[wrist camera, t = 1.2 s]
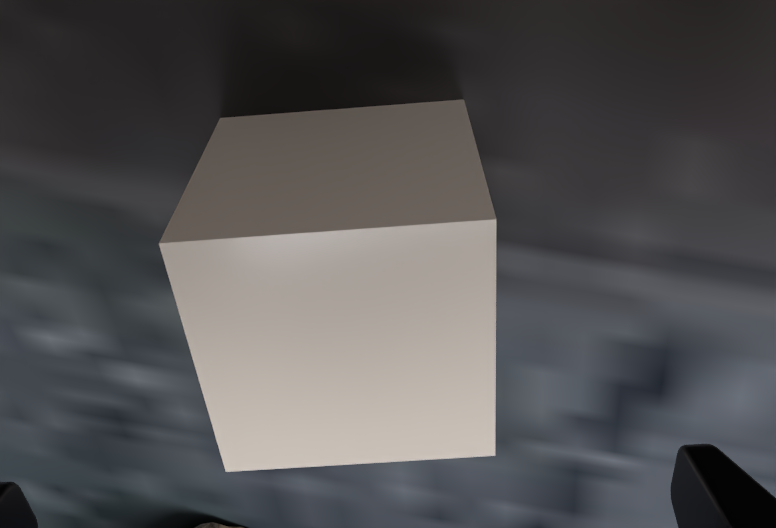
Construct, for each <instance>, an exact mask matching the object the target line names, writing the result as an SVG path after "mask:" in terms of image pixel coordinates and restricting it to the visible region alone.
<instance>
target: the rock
mask: <svg viewBox="0 0 776 528" xmlns="http://www.w3.org/2000/svg"><path fill="white" fill-rule="evenodd" d="M195 528H244V527H240V526H239V527H228V526H224V525H221V524H218V523H214V522H210V523H204V524H200V525H199V526H197V527H195Z"/></svg>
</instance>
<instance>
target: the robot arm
mask: <svg viewBox="0 0 776 528" xmlns="http://www.w3.org/2000/svg"><path fill="white" fill-rule="evenodd" d="M671 500H672V505H673V509H674V513H675V516H676V520H677V524H678V528H776V498H775V497H774V496H773V495H772V494H770V493H769V492H768V491H767V490H766V489H765V488H763V487H762V486H761V485H760V484H759V483H758V482H756V481H755V480H754V479H753V478H752V477H751V476H749V475H748V474H747V473H746V472H745V471H744V470H743V469H741V468H740V467H739V466H738V465H737V464H736V463H734V462H733V461H732V460H731V459H730V458H729V457H727V456H726V455H725V454H724V453H723V452H722V451H720V450H719V449H718V448H717V447H715V446H713V445H711V444H694V445H684V446H682V447H680V449H679V450H678V453H677V458H676V463H675V468H674V472H673V477H672V482H671ZM0 528H38V524H37V519H36V517H35V515H34V513H33V511H32V509H31V507H30V505H29V504H28V502H27V500H26V498H25V496H24V494H23V492H22V490H21V488H20V487H19V486H18V485H17V484H15V483H14V482H0Z"/></svg>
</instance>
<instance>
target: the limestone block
mask: <svg viewBox="0 0 776 528" xmlns="http://www.w3.org/2000/svg"><path fill="white" fill-rule="evenodd" d="M159 246H160V249H161V253H162V256H163V259H164V263H165V266H166V270H167V273H168V276H169V280H170V283H171V287H172V290H173V293H174V297H175V300H176V304H177V307H178V310H179V314H180V317H181V321H182V324H183V328H184V331H185V334H186V338H187V341H188V345H189V348H190V351H191V355H192V358H193V362H194V365H195V368H196V372H197V375H198V379H199V382H200V385H201V389H202V392H203V396H204V399H205V403H206V406H207V409H208V413H209V416H210V420H211V423H212V426H213V430H214V433H215V437H216V440H217V443H218V447H219V450H220V454H221V457H222V460H223V464H224V467H225V471H226V472H232V471H249V470H265V469H282V468H299V467H315V466H332V465H348V464H365V463H382V462H398V461H415V460H431V459H448V458H465V457H481V456H495V395H496V216H495V212H494V209H493V205H492V201H491V198H490V194H489V190H488V186H487V183H486V179H485V175H484V172H483V168H482V164H481V161H480V157H479V153H478V150H477V146H476V142H475V139H474V135H473V131H472V127H471V124H470V120H469V116H468V113H467V109H466V105H465V102H464V99H463V100H450V101H437V102H424V103H411V104H397V105H384V106H371V107H358V108H345V109H332V110H319V111H306V112H293V113H279V114H266V115H253V116H240V117H227V118H220V119H219V121H218V123H217V125H216V127H215V130H214V132H213V134H212V136H211V138H210V140H209V142H208V144H207V146H206V148H205V150H204V152H203V154H202V156H201V158H200V160H199V162H198V164H197V166H196V168H195V170H194V172H193V175H192V177H191V179H190V181H189V183H188V185H187V187H186V189H185V191H184V193H183V195H182V197H181V199H180V201H179V203H178V205H177V207H176V209H175V211H174V213H173V215H172V217H171V219H170V222H169V224H168V226H167V228H166V230H165V232H164V234H163V236H162V238H161V240H160V242H159Z"/></svg>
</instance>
